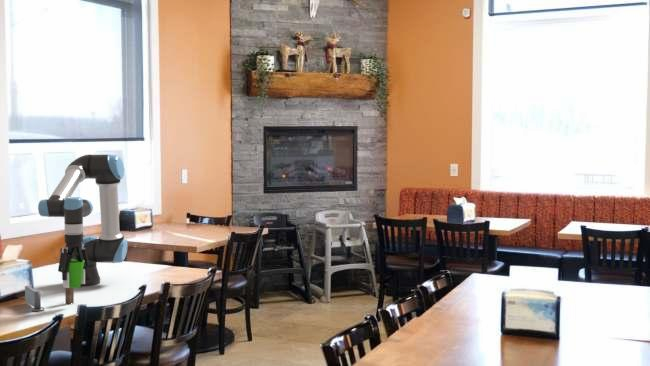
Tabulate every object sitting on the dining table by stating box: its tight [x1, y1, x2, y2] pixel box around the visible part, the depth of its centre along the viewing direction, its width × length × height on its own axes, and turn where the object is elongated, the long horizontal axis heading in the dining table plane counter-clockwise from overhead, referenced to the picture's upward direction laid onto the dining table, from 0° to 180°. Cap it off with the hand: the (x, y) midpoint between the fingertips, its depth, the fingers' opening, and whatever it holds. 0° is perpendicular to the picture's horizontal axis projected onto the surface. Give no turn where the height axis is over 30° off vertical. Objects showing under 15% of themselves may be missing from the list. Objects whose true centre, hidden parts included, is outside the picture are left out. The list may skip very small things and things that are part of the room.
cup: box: [68, 260, 85, 289], centre depth 331 cm, size 9×9×11 cm
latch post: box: [64, 288, 75, 305], centre depth 339 cm, size 3×3×10 cm
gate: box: [24, 285, 42, 309], centre depth 331 cm, size 17×2×7 cm, turn 36°
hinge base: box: [30, 307, 45, 313], centre depth 326 cm, size 5×5×1 cm
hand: (74, 285), depth 331 cm, fingers closed on cup, 9 cm apart
